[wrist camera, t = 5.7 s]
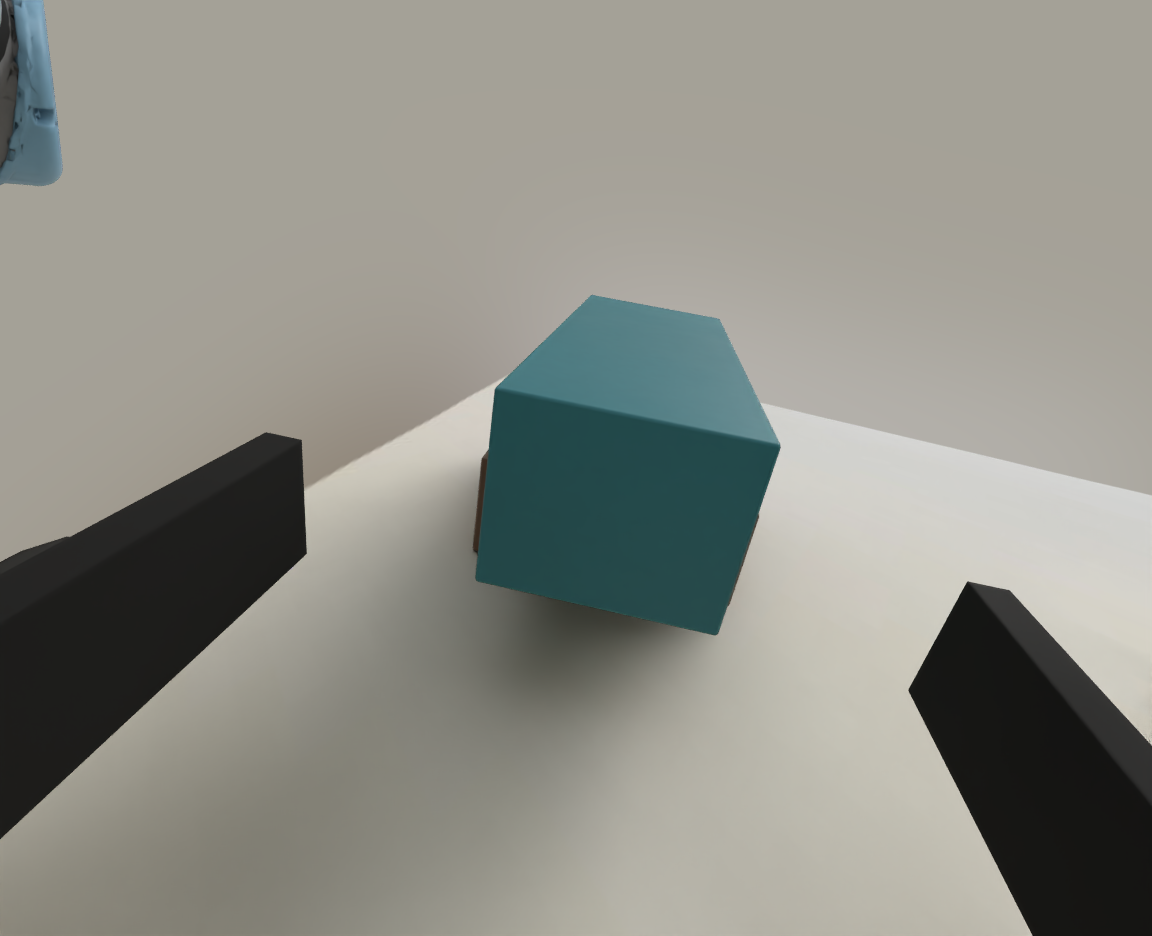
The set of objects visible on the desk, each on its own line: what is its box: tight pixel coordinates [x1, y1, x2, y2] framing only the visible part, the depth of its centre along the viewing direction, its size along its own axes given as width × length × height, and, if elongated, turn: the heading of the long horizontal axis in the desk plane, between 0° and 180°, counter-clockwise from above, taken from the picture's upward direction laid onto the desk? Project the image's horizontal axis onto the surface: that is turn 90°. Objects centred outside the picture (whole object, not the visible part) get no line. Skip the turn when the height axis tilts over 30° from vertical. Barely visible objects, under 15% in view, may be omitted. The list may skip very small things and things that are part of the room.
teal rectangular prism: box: [475, 295, 781, 635], centre depth 20 cm, size 6×16×5 cm, turn 172°
